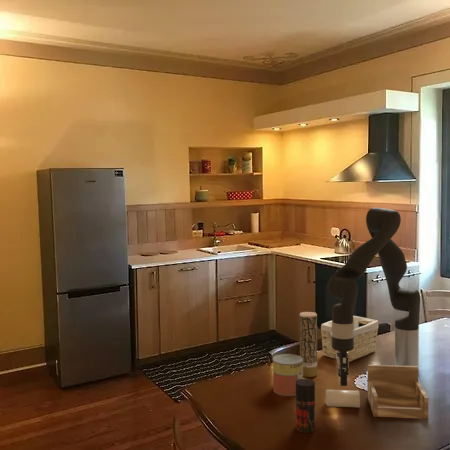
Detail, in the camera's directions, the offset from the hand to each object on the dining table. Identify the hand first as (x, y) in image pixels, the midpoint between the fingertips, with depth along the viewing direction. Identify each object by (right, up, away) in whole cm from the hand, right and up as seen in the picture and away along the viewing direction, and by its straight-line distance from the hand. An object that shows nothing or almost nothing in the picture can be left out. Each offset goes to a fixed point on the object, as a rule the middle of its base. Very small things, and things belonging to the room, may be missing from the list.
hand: (342, 380), depth 178 cm
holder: (+18, -9, -2) cm, 20 cm away
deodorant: (-15, -11, -15) cm, 24 cm away
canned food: (-17, -8, +15) cm, 24 cm away
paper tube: (-7, -7, +30) cm, 32 cm away
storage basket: (+16, -5, +54) cm, 57 cm away
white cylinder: (0, -6, +1) cm, 6 cm away
